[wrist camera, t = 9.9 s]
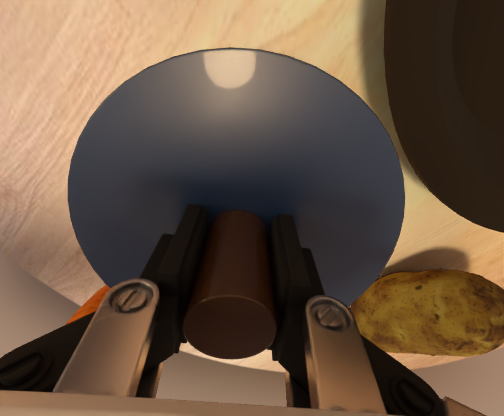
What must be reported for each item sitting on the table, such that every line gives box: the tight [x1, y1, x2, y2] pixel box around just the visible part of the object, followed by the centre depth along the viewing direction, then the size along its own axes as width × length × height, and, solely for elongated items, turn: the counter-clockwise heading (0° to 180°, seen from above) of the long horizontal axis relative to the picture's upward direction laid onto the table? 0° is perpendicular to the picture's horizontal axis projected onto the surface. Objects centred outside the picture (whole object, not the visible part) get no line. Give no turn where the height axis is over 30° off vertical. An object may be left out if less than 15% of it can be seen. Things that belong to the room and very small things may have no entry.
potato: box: [350, 269, 504, 356], centre depth 25 cm, size 8×13×8 cm, turn 111°
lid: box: [68, 47, 405, 359], centre depth 10 cm, size 14×14×6 cm
